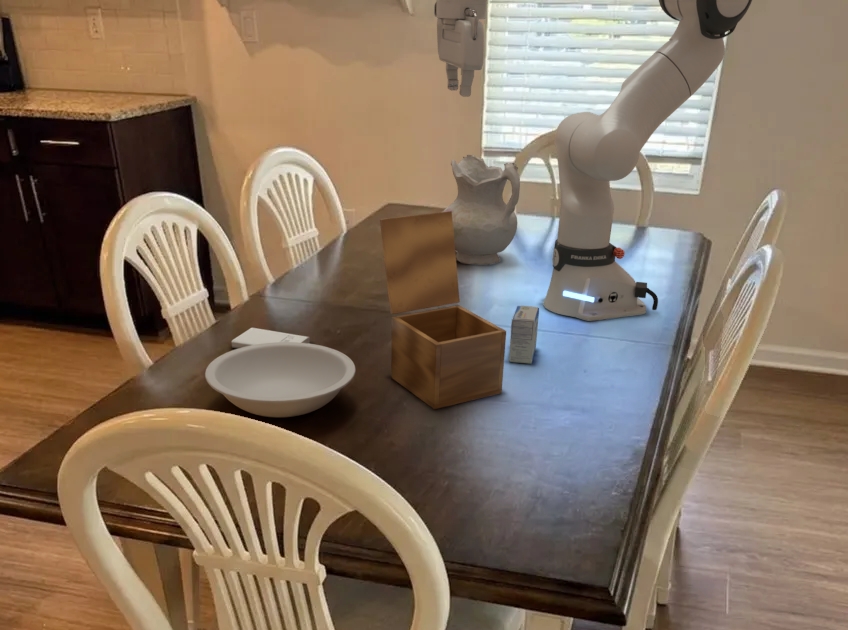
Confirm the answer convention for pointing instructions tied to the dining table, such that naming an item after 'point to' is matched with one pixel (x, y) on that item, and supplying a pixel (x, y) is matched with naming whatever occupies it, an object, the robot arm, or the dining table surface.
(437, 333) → the chest
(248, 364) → the soup bowl
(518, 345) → the medicine box
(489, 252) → the ceramic pitcher
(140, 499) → the dining table surface
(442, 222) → the lid
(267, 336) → the hard drive
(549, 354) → the dining table surface
